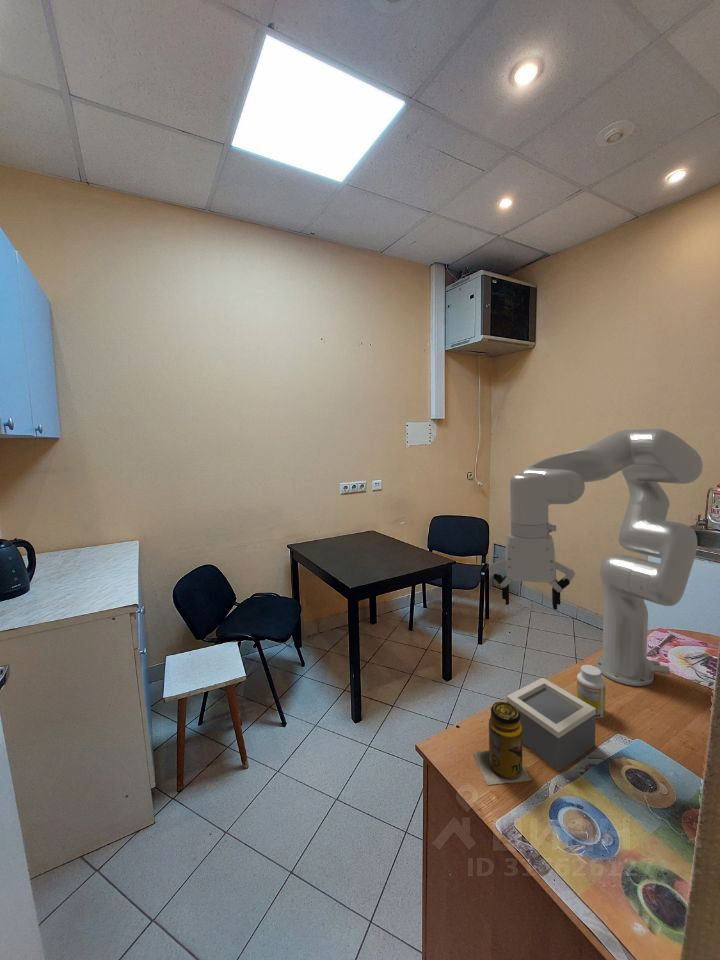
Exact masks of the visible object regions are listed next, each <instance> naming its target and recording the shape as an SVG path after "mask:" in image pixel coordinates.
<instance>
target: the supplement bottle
mask: <svg viewBox="0 0 720 960" xmlns="http://www.w3.org/2000/svg"><path fill="white" fill-rule="evenodd" d="M576 697H577V698H579V699H580V700H582V701H584V702H585V703H587V704H589V705H591V706H592V707H594V708H596V717H595V719H601V718H603V717H605V714H606V681H605V679H604V678H603V677H602V673H601V671H600V670H599V669H598V668H597V667H596V665H595V666H594V665H591V664H583V665H581V666H580V672H579V673H577V675H576Z"/></svg>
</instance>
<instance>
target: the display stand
mask: <svg viewBox="0 0 720 960" xmlns="http://www.w3.org/2000/svg"><path fill="white" fill-rule="evenodd" d="M506 703H509V704H512V705H513V706H515V707H516V708H517V709H518V711H519V713H520V723H521V726H522V745H524V746H525V747H526V748H527V749H529V750H530V751H531V752H533V753H534V754H535V755H536V756H537V757H539V758H540V760H542V761H544V762H545V763H546V764H547V765H548V766H550V767H551V768H553V769H554V770H555V771H556V772H557V773H559V772H560V771H563V769H565V768H566V767H567V766H569V765H570V764H572V763H573V762H575V760H577V759H579V757H580V758H581V756H583V755H584V754H586V752H588V751H589V750H591V749H592V748H593V747H595V746H596V718H595V717H596V708H594V707H592V706H591V705H589V704H587V703H585V702H584V701H582V700H580V699H579V698H577V696H575V695H574V694H571V693H570V692H569V691H566V690H565V689H563V688H561V687H560V686H558V685H556V684H554V683H553V682H551V681H549V680H548V679H546V678H544V677H541V678H539V679H537V680H535V681H533V682H531V683H529V684H527V685H526V686H524V687H522V688H519V689H518V690H515V691H514V692H512V693H510V694H508V695H506Z"/></svg>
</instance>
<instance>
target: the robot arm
mask: <svg viewBox="0 0 720 960" xmlns="http://www.w3.org/2000/svg"><path fill="white" fill-rule="evenodd" d="M703 465H704V464H703V460H702V458H701V455H700V454H699V453H698V451H697V450H696V449H694V448H693V446H690V444H688V443H687V442H686V441H685V440H684V439H682V438H680V437H679V436H678V435H676V434H675V433H673V432H671V431H669V430H666V429H662V428H649V429H647V428H646V429H627V430H626V429H624V430H619V431H616V432H614V433H612V434H610V435H608V436H606V437H604V438H602V439H600V440H598V441H597V442H594V443H593V444H591V445H589V446H586V447H583V448H580V449H575V450H571V451H569V452H566V453H565V452H564V453H561V454H557V455H553V456H550V457H547V458H544V459H541V460H540V461H539V460H538V461H537V462H535V463H533V464H530V466H527V467H525V468H524V469H523V470H522V472H520V473H514V474H513V475H512V476H511V477H510V479H509V488H510V489H509V496H510V497H509V498H510V504H509V505H510V507H509V508H510V533H507V536H506V543H505V552H504V553H505V554H504V556H505V557H504V558H503V559H500V560H498V561H496V562H494V563H491V564H489V565H488V571H489V572H490V574H491V576H492V577H493V579H494V581H496V582H497V583H498V584H499V585H500V587H501V595H502V596H501V597H502V600H505V606H508V605H510V586H509V584H510V583H511V582H512V581H518V582H527V583H542V584H549V585H550V586H552V587H551V605H552V609H553V610H554V611H557V610H558V605H559V606H560V605H561V593H562V591H563V590H564V589H566V588H567V587H568V586H569V585H570V583H571V582H572V580H573V579H574V577H575V575H576V573H575V570H574V569H571V568H570V567H568V566H566V565H563V564H562V563H559V562H558V561H556V551H555V542H554V538H553V535H552V534H551V533H553V532H557V525H555V524H551V523H550V522H549V514H550V513H549V506H550V505H569V504H573V503H575V502H577V501H579V499H581V498H582V496H583V494H584V492H585V489H586V488H585V487H586V485H585V483H592V482H598V481H603V480H605V479H608V478H610V477H612V476H613V475H615V474H617V473H619V472H620V471H621V474H622V475H623V477H624V480H625V482H626V485H627V488H628V493H629V500H628V504H627V507H626V510H625V514H624V516H623V520H622V523H621V527H620V528H619V533H618V539H617V540H618V543H619V545H620V547H622V548H623V549H624V550H627V551H629V552H633V553H636V554H639V555H643V556H649V557H653V558H657V559H660V563H659V562H654V561H652V560H651V561H650V560H646V559H644V558H639V557H635V556H632V555H631V556H630V555H626V554H621V553H620V554H617V553H616V554H610V555H608V556H606V557H604V559H603V560H602V562H601V563H600V565H599V566H600V567H599V575H600V581H601V586H602V590H603V591H602V592H603V627H602V628H603V629H602V630H603V631H602V635H603V636H602V654H601V655H600V656H598V657H597V658H596V660H595V667H597V668H598V669H599V670H600V671H601V675H603V676H605V677H606V678H608V679H610V680H612V681H615V682H617V683H620V684H623V685H627V686H634V687H645V686H648V685H650V684H652V683H653V682H654V678H655V677H654V674H656V673H659V674H662V675H663V674H664V675H670V673H671V670H670V666H667V665H661V662H660V661H659V660H652V659H650V660H649V658H648V657H647V655H648V633H649V632H648V629H649V625H648V624H649V611H648V608H647V605H646V602H645V601H647V602H651V603H654V604H657V605H660V606H665V607H673V606H675V605H677V604H678V603H679V602H680V601H681V599H682V597H683V596H684V593H685V590H686V587H687V585H688V581H689V578H690V574H691V571H692V567H693V564H694V561H695V558H696V554H697V550H698V537H697V534H696V531H695V530H694V528H692V527H691V526H690V525H688V524H685V523H681V522H677V521H670V520H666V519H667V516H668V514H669V513H668V512H669V508H670V499H669V497H668V495H667V494H666V492H665V490H664V489H663V487H661V485H660V483H667V484H678V485H679V484H680V485H681V484H682V485H683V484H690V483H693V482H696V480H697V479H698V478H700V476H701V473H702V472H703ZM503 567H505V568H504V569H505V571H504V572H505V575H504V576H502V575H501V574H500V573H499V572H498V569H501V568H503ZM557 571H558V572H561V573H563V574H564V577H562V578H561V579H560V580H558V579H557ZM644 600H645V601H644Z"/></svg>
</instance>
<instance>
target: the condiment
mask: <svg viewBox="0 0 720 960" xmlns="http://www.w3.org/2000/svg"><path fill="white" fill-rule="evenodd" d="M488 749H489V750H484V751H473V752H472V753H473V756H474V758H475V760H476V763H477V765H478V767H479V770H480V773H481V774H482V776H483V778H484V781H485V783H486V785H487V786H491V785H497V784H499V785H500V784H506V783H507V784H510V783H511V784H512V783H521V782H529V781H531V780H532V778H531V776H530V775H529V774H528V772H527V770H526V769H525V767H524V765H523V744H522V726H521V723H520V713H519V711H518V709H517V708H516V707H515V706H513V705H512V704H509V703H507V701H497V702H494V703H493V704H492V706H491V708H490V718H488Z"/></svg>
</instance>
